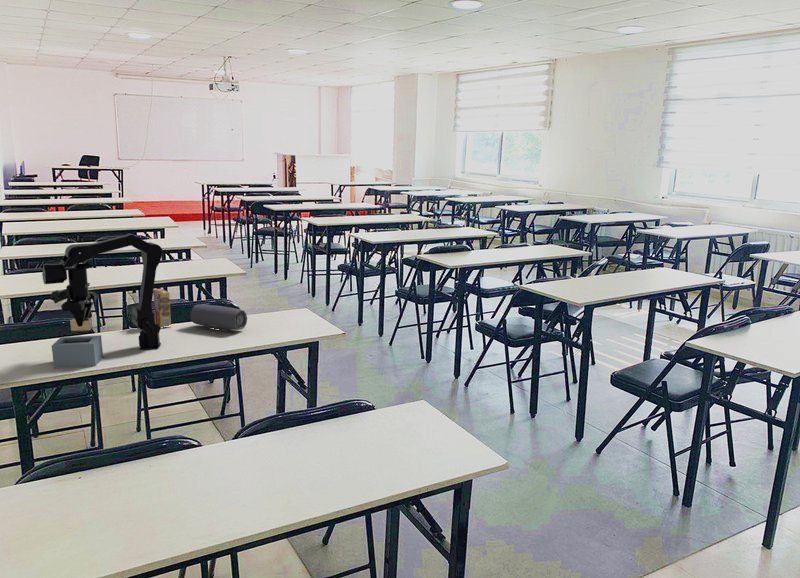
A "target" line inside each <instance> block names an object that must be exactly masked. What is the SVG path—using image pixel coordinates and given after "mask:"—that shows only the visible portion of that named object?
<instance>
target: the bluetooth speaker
mask: <svg viewBox="0 0 800 578" xmlns="http://www.w3.org/2000/svg"><path fill="white" fill-rule="evenodd" d="M189 317H190V320H191V322H192V323H193V324H196V325H198V326H204V327H207V328H208V327H209V328H214V329H219V330H224V331H223V332H230V331H231V330H232V331H233V330H234V331H241V330H243V329H245V327H246V325H247V323H248V316H247V312H246V311H245V310H244V309H243V310H242V309H240V308H236V307H235V308H234V307H229V306H222V305H212V304H196V305H194V306H193V307H192V308H191V311H190V316H189ZM219 330H218V331H219ZM229 330H230V331H229Z"/></svg>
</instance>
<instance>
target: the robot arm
mask: <svg viewBox="0 0 800 578" xmlns="http://www.w3.org/2000/svg"><path fill="white" fill-rule="evenodd" d="M129 246H131V247H133V248H134V249H136V250H138V251H140V253H141V261H142V264H143V265H142V266H143V268H142V274H141V275H142V277H141V283H140V292H139V300H138V304H137V306H136V307H132V310H131V312H132V314H131V316H130V319H132V323H133V324H134V325H135V326H136V327H137V328H138V329H139V330H140V332H139V335H138V345H139V346H138V347H139V350H140V351H141V350H156V349H159V348H160V346H161V344H162V343H161V341H160V339H161V338H160V331H161V328H160V327H159V326H158V325H157V324H155V318H154V311H153V308H152V307H153V306H152V304H153V303H152V302H153V298H154V296H153V290H155V280H156V274H157V273H156V272H157V268H158V267H159V265H160V263H161V260H162V257H163V254H164V253H163V251H164V250H163V248H162V246H160V245H159V244H157V243H154V242H147V240H146V241H145V240H143V239H142V238H140V237H138V236H137V235H135V234H133V233H126V234H123V235H121V236H117V237H113V238H109V239H104V240H100V241H96V242H93V243H92V242H91V243H75V244H70V245H68V246H66V248H65V251H64V255H63V257H62V259H61V260H60V261H59V262H58V263H43V264H42V267H43V268H42V273H41V275H42V280H43V281H42V282H43V284H44V285H52V284H63V283H64V282H65V281H67V280H68V284H67V285H66V287H65V288H64V289H61V290H58V289H57V290H55V291H52V292H51V295H50V301H53V303H54V304H58V303H59V302H62V301H65V300H66V301H65V302H63V303H62V304H61V305H60V309H61V311H62V312H70V313H71V314H72V315H73V319H75V320H76V322H77V325H78V326H79V327H81V326H82V324H83V321H84V318H89V315H90V312H91V310H92V307H93V305H94V302H93V301H96V300H98V296H97V295H98V294H97V293H96V292H95V291H89V286H90V285H91V284H90V282H88V272H87V269H92V268H94V266H93V265H91V264H90V263H89V260H90V259H92V258H94V257H96V256H98V255H100V254H101V255H102V254H104V253H107V252H111V251H115V250H119V249H123V248H128V247H129ZM90 300H92V301H90Z"/></svg>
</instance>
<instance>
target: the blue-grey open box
mask: <svg viewBox="0 0 800 578" xmlns="http://www.w3.org/2000/svg"><path fill="white" fill-rule="evenodd" d="M103 350H104V349H103V342H102V335H101V334H100V335H82V336H81V335H80V336H78V335H77V336H61V337H59V339H57V340H56V341H55V342H54V343H53V344H52V345H51V355H52V361H53V368H54V369H61V368H62V369H64V368H65V369H67V368H79V367H80V368H82V367H97V365H98V364H99V363H100V361H101V360H102V359H103V357H104V351H103Z"/></svg>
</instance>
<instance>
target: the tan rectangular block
mask: <svg viewBox="0 0 800 578" xmlns="http://www.w3.org/2000/svg"><path fill="white" fill-rule="evenodd" d="M69 323H70V331H71V332H76V331H77V332H81V331H82V332H83V331H91V330H92V329H93V318H91V317H88V318H84V321H83V324H82V326H81V327H79V326H78V325H77V322H76V320H75V318H72V319H70V321H69Z"/></svg>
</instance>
